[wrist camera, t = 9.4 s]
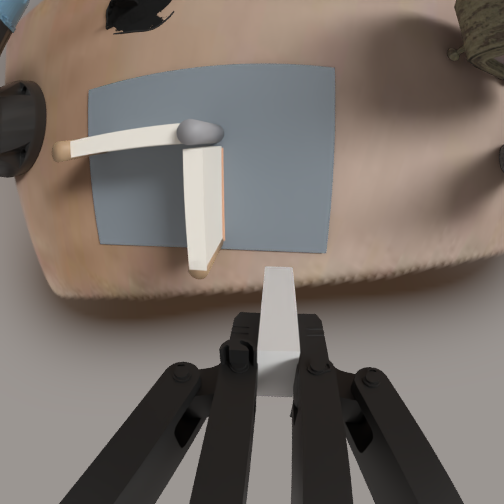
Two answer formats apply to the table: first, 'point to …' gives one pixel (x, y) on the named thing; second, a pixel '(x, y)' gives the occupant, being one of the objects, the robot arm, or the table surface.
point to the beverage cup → (502, 158)
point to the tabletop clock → (481, 34)
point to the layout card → (232, 155)
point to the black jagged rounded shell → (135, 15)
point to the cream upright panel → (203, 207)
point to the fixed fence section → (139, 139)
